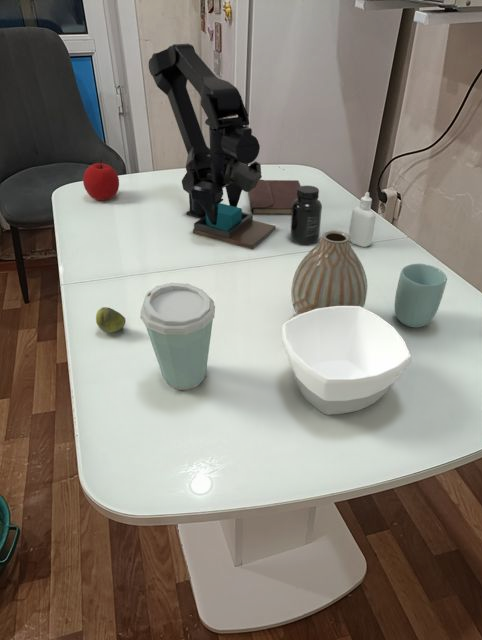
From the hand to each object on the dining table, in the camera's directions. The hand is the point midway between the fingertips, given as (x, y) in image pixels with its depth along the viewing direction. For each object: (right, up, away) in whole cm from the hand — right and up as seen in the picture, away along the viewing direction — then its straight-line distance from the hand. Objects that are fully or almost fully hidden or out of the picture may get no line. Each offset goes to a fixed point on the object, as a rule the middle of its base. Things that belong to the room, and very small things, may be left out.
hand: (224, 217), depth 122 cm
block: (0, -1, +1) cm, 2 cm away
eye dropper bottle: (+32, -6, -1) cm, 33 cm away
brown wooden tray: (+3, -3, +1) cm, 4 cm away
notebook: (+13, +9, +17) cm, 23 cm away
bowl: (+21, -38, -41) cm, 59 cm away
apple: (-33, +9, +14) cm, 37 cm away
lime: (-17, -28, -32) cm, 46 cm away
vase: (+21, -27, -28) cm, 44 cm away
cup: (+37, -26, -26) cm, 52 cm away
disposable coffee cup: (-3, -36, -41) cm, 55 cm away
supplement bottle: (+19, -6, -1) cm, 20 cm away
